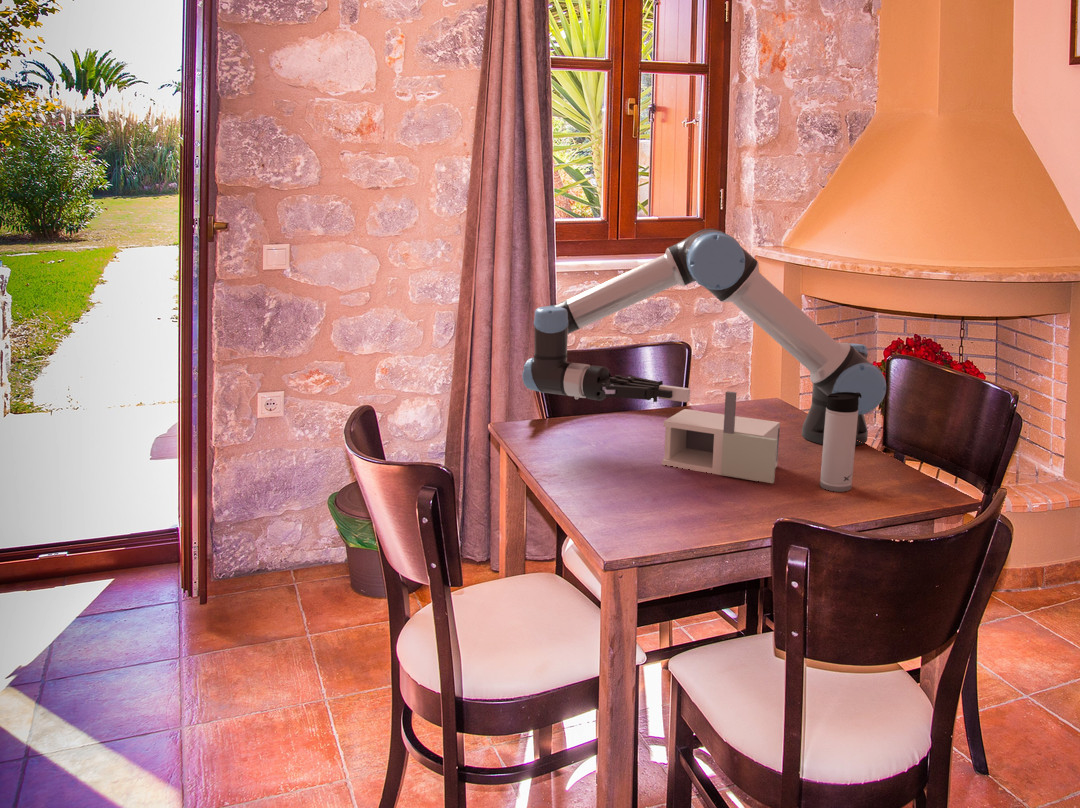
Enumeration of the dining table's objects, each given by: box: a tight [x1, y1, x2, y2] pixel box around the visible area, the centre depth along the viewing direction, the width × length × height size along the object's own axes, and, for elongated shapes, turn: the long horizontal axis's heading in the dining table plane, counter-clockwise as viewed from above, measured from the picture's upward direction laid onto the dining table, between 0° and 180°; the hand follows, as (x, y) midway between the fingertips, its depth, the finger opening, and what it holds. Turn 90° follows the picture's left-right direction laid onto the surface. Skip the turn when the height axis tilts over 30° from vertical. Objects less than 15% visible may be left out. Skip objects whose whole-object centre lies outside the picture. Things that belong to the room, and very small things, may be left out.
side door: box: [720, 390, 777, 484], centre depth 206 cm, size 11×1×18 cm, turn 61°
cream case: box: [661, 408, 781, 483], centre depth 217 cm, size 22×12×10 cm, turn 61°
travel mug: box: [819, 392, 861, 493], centre depth 202 cm, size 6×7×20 cm
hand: (688, 395), depth 211 cm, fingers closed
